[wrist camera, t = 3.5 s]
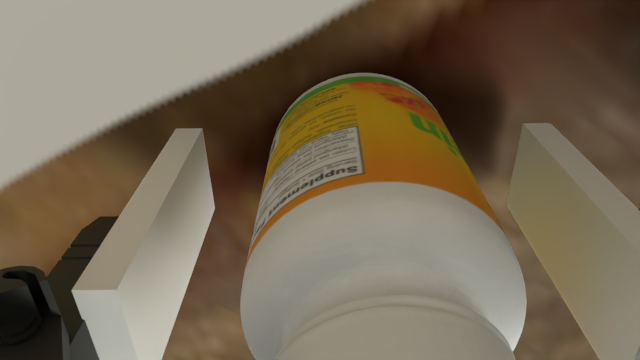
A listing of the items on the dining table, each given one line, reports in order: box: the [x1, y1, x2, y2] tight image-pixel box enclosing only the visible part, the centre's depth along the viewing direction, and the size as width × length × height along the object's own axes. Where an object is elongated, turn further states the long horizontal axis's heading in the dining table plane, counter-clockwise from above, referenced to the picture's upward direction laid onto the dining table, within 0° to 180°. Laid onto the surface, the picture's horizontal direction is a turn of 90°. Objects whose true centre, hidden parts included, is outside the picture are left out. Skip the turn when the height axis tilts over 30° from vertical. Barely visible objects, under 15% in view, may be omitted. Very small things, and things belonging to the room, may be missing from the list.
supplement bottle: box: [240, 73, 527, 360], centre depth 11 cm, size 5×5×10 cm
